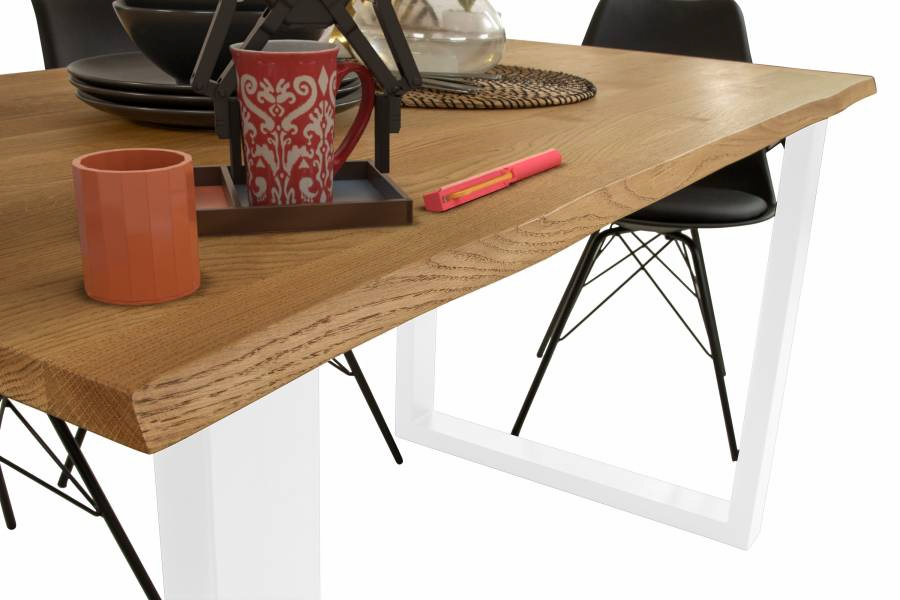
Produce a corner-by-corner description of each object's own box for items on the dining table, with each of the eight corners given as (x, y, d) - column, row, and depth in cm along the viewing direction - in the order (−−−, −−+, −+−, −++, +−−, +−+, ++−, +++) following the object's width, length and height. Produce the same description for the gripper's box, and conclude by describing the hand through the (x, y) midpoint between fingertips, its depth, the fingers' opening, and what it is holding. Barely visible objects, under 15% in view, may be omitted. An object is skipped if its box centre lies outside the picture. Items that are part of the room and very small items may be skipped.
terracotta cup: (83, 314, 64) (68, 174, 60) (88, 277, 70) (75, 149, 67) (203, 305, 66) (195, 169, 63) (197, 270, 72) (189, 146, 69)
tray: (95, 247, 77) (92, 215, 76) (101, 196, 91) (99, 169, 90) (412, 229, 84) (413, 199, 83) (372, 184, 98) (372, 159, 97)
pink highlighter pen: (410, 219, 89) (453, 211, 87) (404, 196, 89) (447, 187, 86) (536, 172, 108) (574, 164, 106) (531, 152, 108) (569, 144, 105)
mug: (257, 222, 82) (250, 52, 77) (223, 197, 89) (215, 40, 85) (396, 206, 88) (397, 47, 83) (353, 183, 95) (352, 37, 91)
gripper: (437, -88, 87) (433, 158, 94) (145, -96, 80) (165, 169, 88) (462, -89, 80) (456, 176, 88) (146, -98, 74) (168, 189, 81)
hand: (310, 173), depth 88 cm, fingers closed on mug, 12 cm apart
